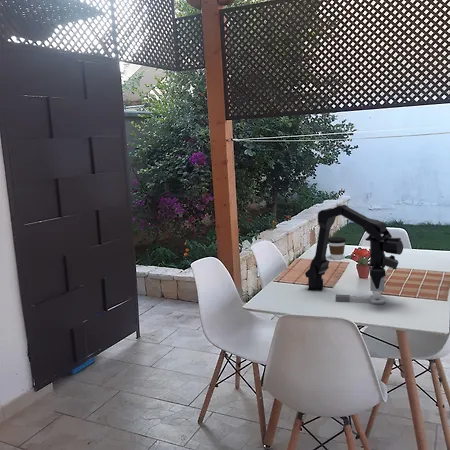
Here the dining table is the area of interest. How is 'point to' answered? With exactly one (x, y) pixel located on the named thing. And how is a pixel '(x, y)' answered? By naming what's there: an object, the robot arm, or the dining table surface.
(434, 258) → the dining table surface
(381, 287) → the gray block
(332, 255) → the coffee cup
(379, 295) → the gray handled tool
